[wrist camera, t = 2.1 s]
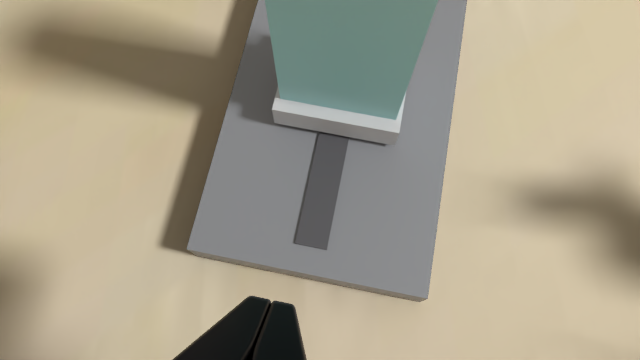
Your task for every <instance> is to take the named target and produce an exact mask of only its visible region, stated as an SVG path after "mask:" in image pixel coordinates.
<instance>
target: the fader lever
mask: <svg viewBox="0 0 640 360" xmlns="http://www.w3.org/2000/svg"><path fill="white" fill-rule="evenodd" d="M437 2H438V0H265V5H266V11H267V17H268V24H269V30H270V37H271V43H272V50H273V56H274V63H275V69H276V75H277V82H278V88H277V92H276V96H275V99H274V103H273V107H272V113H273V118H274V123H277V124H282V125H288V126H293V127H298V128H304V129H309V130H314V131H320V132H325V133H330V134H336V135H341V136H346V137H352V138H357V139H362V140H368V141H373V142H378V143H383V144H389V145H395V143H396V140H397V138H398V135H399V132H400V126H401V120H402V114H403V108H404V102H405V96H406V90H407V87H408V85H409V82H410V79H411V76H412V73H413V70H414V68H415V65H416V62H417V59H418V56H419V53H420V51H421V48H422V45H423V42H424V39H425V36H426V34H427V31H428V28H429V25H430V22H431V19H432V17H433V14H434V11H435V8H436V5H437Z"/></svg>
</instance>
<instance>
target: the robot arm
mask: <svg viewBox="0 0 640 360" xmlns="http://www.w3.org/2000/svg"><path fill="white" fill-rule="evenodd" d="M173 360H307V359H306V355H305V350H304V346H303V341H302V337H301V332H300V328H299V323H298V319H297V314H296V309H295V307H294V305H292V304H289V303H284V302H279V301H273V302H272V303H271V301H270V300H269V299H265V298H260V297H255V296H249V297H247V298H246V299H245V300H244V301H242V302H241V303H240V304H239V305H238V306H236V307H235V308H234V309H233V310H232V311H230V312H229V313H228V314H227V315H226V316H224V317H223V318H222V319H221V320H220V321H218V322H217V323H216V324H215V325H214V326H212V327H211V328H210V329H209V330H208V331H206V332H205V333H204V334H203V335H202V336H200V337H199V338H198V339H197V340H195V341H194V342H193V343H192V344H191V345H189V346H188V347H187V348H186V349H185V350H183V351H182V352H181V353H180V354H179V355H177V356H176V357H175V358H174V359H173Z"/></svg>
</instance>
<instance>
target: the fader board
mask: <svg viewBox="0 0 640 360" xmlns="http://www.w3.org/2000/svg"><path fill="white" fill-rule="evenodd" d="M466 4H467V0H438V2H437V5H436V8H435V11H434V14H433V17H432V19H431V22H430V25H429V28H428V31H427V34H426V36H425V39H424V42H423V45H422V48H421V51H420V53H419V56H418V59H417V62H416V65H415V68H414V70H413V73H412V76H411V79H410V82H409V85H408V87H407V90H406V96H405V102H404V108H403V114H402V120H401V126H400V132H399V135H398V138H397V140H396V143H395V145H389V144H383V143H378V142H373V141H368V140H362V139H357V138H352V137H346V136H341V135H336V134H330V133H325V132H320V131H314V130H309V129H304V128H298V127H293V126H288V125H282V124H277V123H274V118H273V113H272V107H273V103H274V99H275V96H276V92H277V88H278V82H277V75H276V69H275V63H274V56H273V50H272V43H271V37H270V30H269V24H268V17H267V11H266V5H265V0H258V2H257V6H256V9H255V13H254V16H253V20H252V23H251V27H250V30H249V34H248V37H247V41H246V44H245V48H244V51H243V55H242V58H241V62H240V65H239V68H238V72H237V75H236V79H235V82H234V86H233V89H232V93H231V96H230V100H229V103H228V107H227V110H226V114H225V117H224V121H223V124H222V128H221V131H220V134H219V138H218V141H217V145H216V148H215V152H214V155H213V159H212V162H211V166H210V169H209V173H208V176H207V180H206V183H205V187H204V190H203V194H202V197H201V200H200V204H199V207H198V211H197V214H196V218H195V221H194V225H193V228H192V232H191V235H190V239H189V242H188V246H187V250H188V251H190V252H191V253H193V254H194V255H195V256H199V257H204V258H209V259H214V260H219V261H223V262H228V263H233V264H238V265H243V266H248V267H253V268H257V269H262V270H267V271H272V272H277V273H282V274H287V275H292V276H296V277H301V278H306V279H311V280H316V281H321V282H326V283H330V284H335V285H340V286H345V287H350V288H355V289H360V290H364V291H369V292H374V293H379V294H384V295H389V296H394V297H398V298H403V299H408V300H413V301H418V302H420V301H423V300H426V299H428V292H429V285H430V277H431V269H432V262H433V254H434V247H435V239H436V232H437V224H438V216H439V209H440V201H441V194H442V186H443V178H444V171H445V163H446V156H447V148H448V140H449V133H450V125H451V118H452V110H453V102H454V95H455V87H456V80H457V72H458V65H459V57H460V49H461V42H462V34H463V27H464V19H465V11H466Z"/></svg>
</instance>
